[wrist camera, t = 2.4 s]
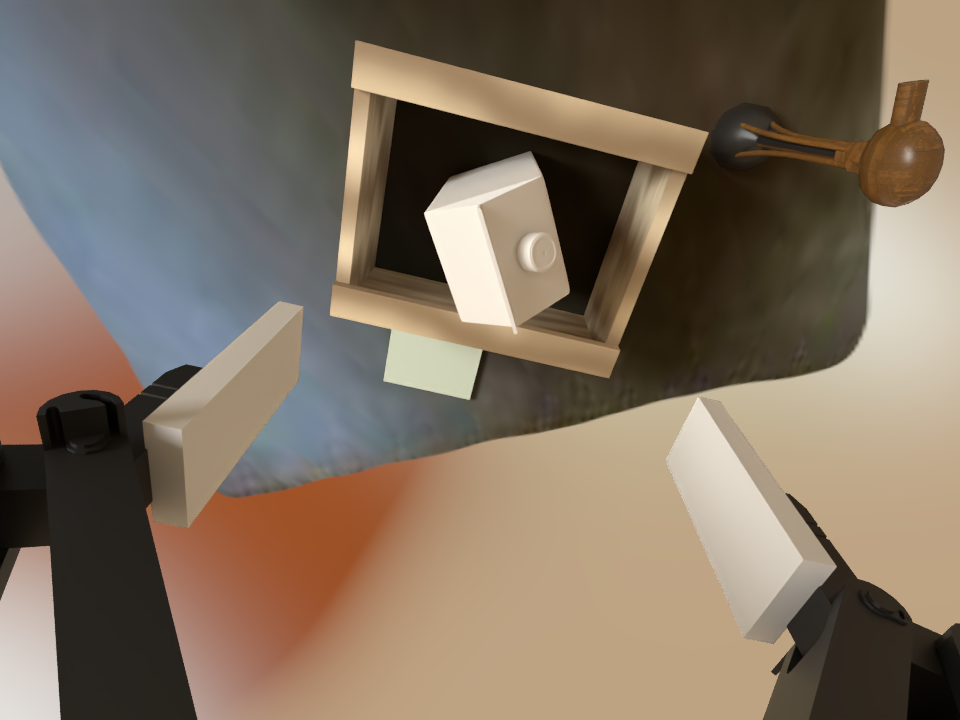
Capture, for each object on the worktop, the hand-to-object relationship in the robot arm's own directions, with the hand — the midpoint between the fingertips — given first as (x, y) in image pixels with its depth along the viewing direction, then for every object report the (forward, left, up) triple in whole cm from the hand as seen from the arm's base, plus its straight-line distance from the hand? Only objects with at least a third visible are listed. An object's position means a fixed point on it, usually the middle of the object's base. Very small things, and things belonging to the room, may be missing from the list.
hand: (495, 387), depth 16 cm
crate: (0, 0, -30) cm, 30 cm away
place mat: (+15, -3, -30) cm, 34 cm away
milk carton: (0, 0, -30) cm, 30 cm away
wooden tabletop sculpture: (-10, +17, -30) cm, 36 cm away
